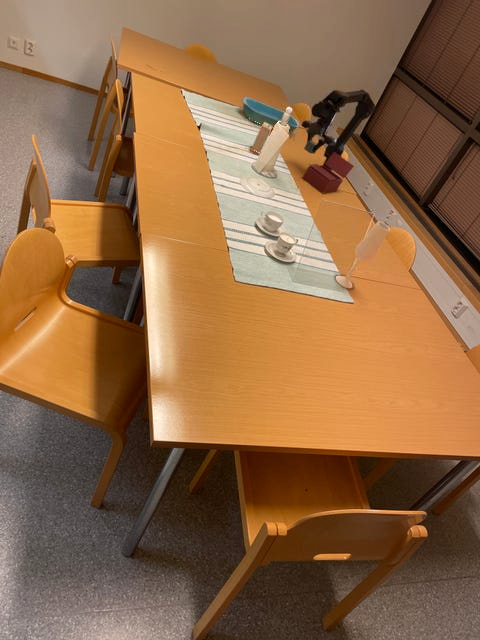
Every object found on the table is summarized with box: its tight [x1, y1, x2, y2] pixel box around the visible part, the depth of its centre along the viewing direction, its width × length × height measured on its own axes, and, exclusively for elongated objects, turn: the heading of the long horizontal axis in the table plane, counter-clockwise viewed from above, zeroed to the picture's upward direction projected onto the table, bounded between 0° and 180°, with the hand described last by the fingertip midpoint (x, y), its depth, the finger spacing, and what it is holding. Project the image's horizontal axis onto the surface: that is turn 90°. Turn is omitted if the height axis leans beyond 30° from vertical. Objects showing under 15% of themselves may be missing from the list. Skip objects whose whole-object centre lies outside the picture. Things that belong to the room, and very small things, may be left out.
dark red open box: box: [302, 163, 344, 194], centre depth 232 cm, size 15×13×7 cm
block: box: [303, 140, 318, 155], centre depth 233 cm, size 4×4×4 cm
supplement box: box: [250, 122, 273, 155], centre depth 227 cm, size 8×5×13 cm, turn 168°
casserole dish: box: [241, 97, 300, 135], centre depth 273 cm, size 37×22×7 cm, turn 103°
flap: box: [325, 152, 355, 179], centre depth 234 cm, size 7×13×1 cm
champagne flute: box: [335, 221, 391, 289], centre depth 160 cm, size 7×7×24 cm
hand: (310, 149), depth 234 cm, fingers closed on block, 4 cm apart
